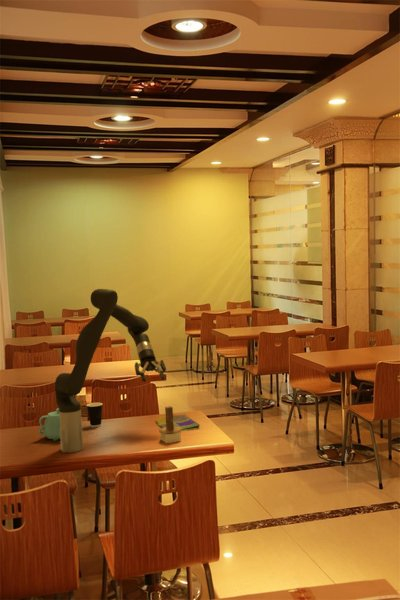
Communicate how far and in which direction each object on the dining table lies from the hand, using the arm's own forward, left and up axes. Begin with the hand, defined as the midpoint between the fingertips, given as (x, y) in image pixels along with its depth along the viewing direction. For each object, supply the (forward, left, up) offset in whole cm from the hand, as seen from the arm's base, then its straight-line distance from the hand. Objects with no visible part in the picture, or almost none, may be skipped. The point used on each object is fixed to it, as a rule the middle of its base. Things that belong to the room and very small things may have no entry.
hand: (153, 380), depth 290 cm
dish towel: (+13, +9, -26) cm, 30 cm away
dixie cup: (-22, +30, -25) cm, 45 cm away
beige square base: (+2, -15, -25) cm, 29 cm away
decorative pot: (-41, +18, -25) cm, 52 cm away
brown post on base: (+2, -15, -21) cm, 26 cm away
